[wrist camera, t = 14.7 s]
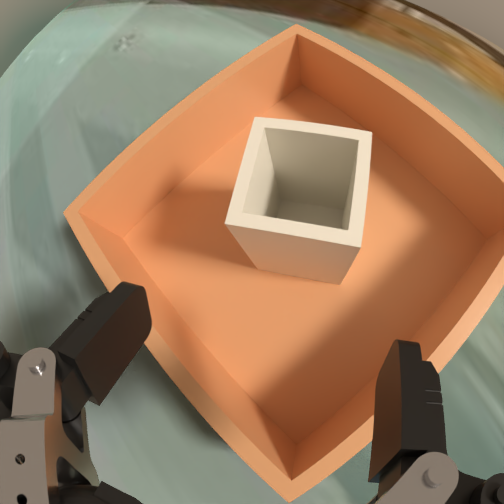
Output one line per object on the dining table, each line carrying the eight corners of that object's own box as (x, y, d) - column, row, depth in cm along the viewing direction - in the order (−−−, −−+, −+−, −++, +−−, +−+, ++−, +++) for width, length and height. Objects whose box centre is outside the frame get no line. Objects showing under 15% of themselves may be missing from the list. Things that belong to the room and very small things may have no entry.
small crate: (340, 285, 21) (360, 247, 12) (257, 269, 22) (224, 223, 13) (352, 207, 22) (372, 132, 13) (275, 194, 23) (254, 116, 15)
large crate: (115, 242, 26) (63, 212, 19) (301, 81, 27) (296, 23, 20) (295, 458, 19) (289, 503, 12) (494, 243, 20) (542, 211, 14)
